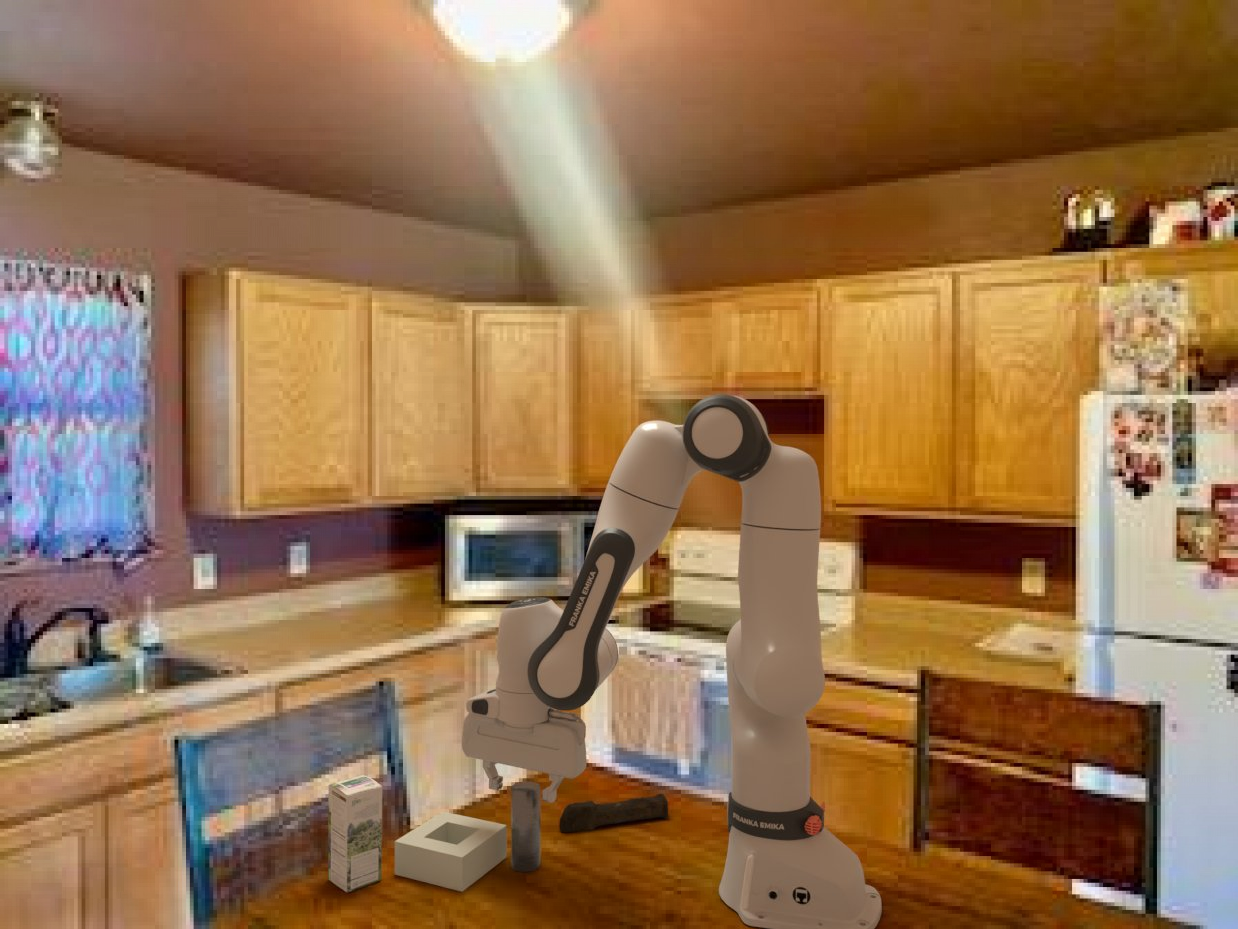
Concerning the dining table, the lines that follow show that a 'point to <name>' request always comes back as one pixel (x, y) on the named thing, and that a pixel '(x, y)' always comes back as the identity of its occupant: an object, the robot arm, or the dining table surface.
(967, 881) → the dining table surface
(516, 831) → the pin
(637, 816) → the hand tool
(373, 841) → the syrup box
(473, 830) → the frame
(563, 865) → the dining table surface
